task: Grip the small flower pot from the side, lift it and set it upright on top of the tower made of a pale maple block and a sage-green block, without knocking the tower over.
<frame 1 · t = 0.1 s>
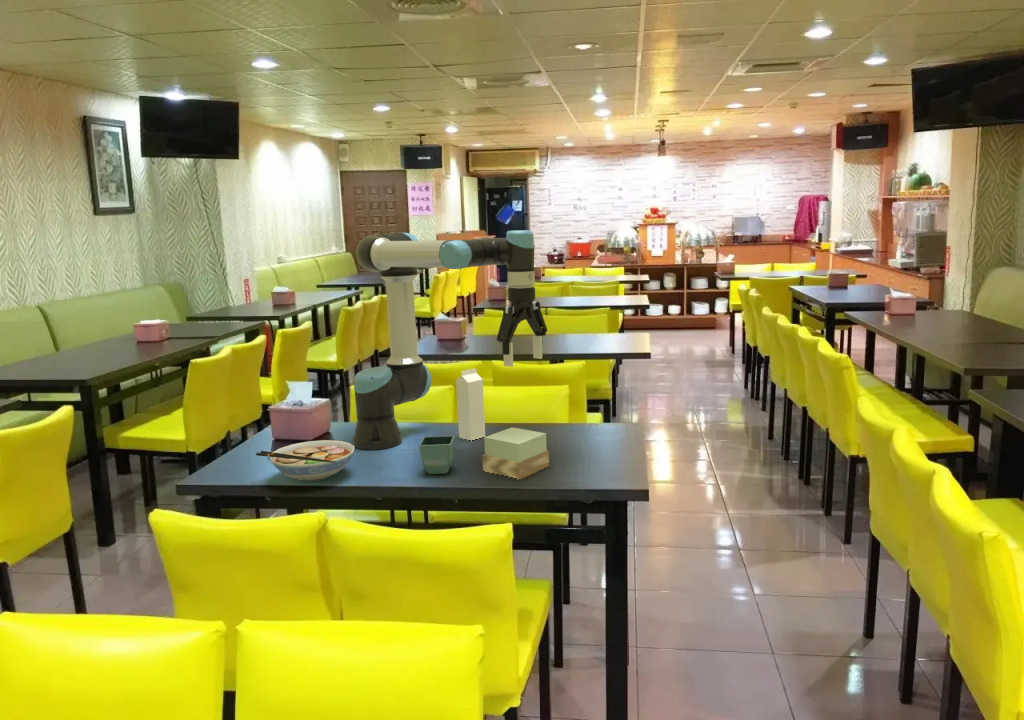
hand: (523, 362, 219), 28 cm above the table, tool pointing down, fingers open, 13 cm apart
maple block: (516, 470, 214), on the table, touching sage block
sage block: (515, 453, 213), point 5 cm above the table, touching maple block
flower pot: (438, 472, 214), on the table
ramen bowl: (314, 478, 213), on the table
milk: (472, 438, 246), on the table
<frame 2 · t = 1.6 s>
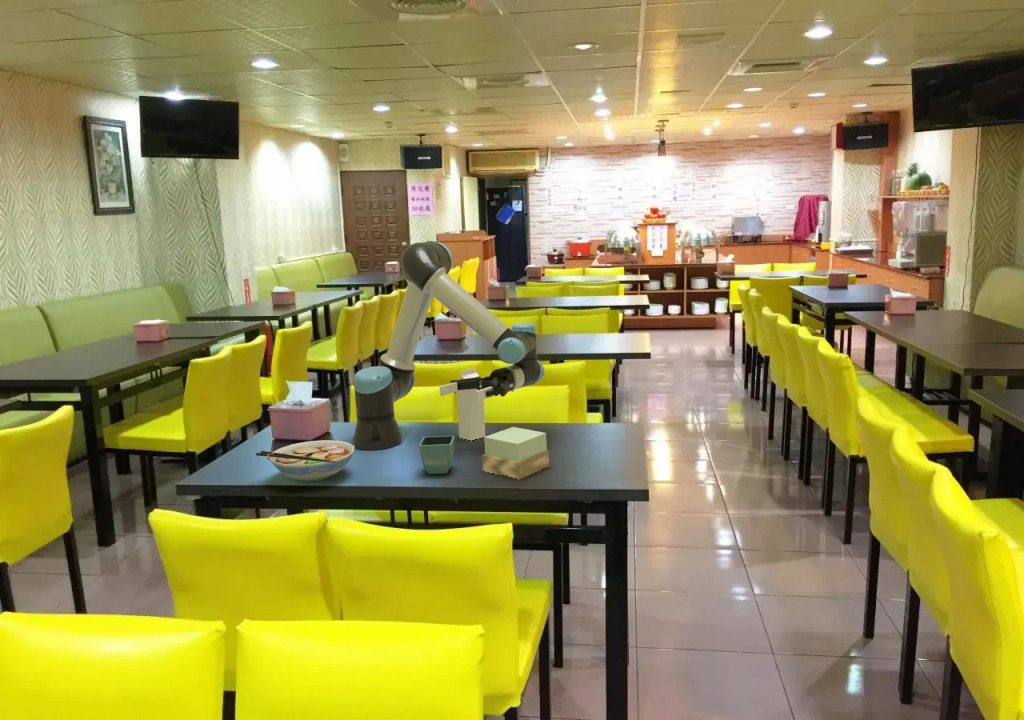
hand: (458, 393, 218), 20 cm above the table, tool horizontal, fingers open, 13 cm apart
nothing on the table moved.
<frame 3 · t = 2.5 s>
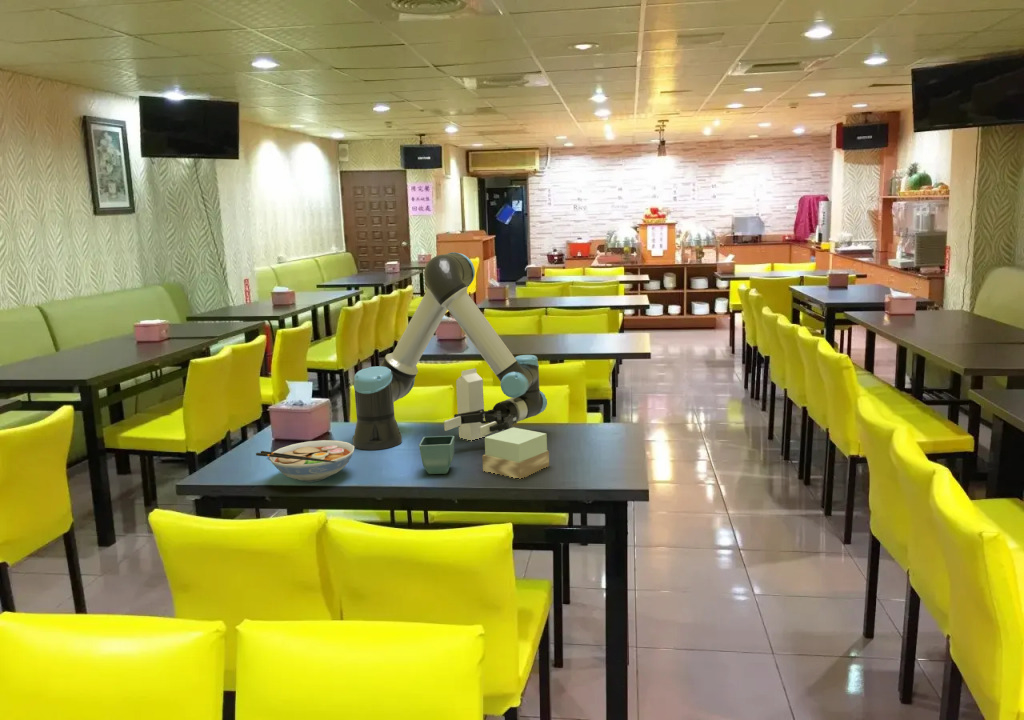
hand: (462, 428, 220), 10 cm above the table, tool horizontal, fingers open, 13 cm apart
nothing on the table moved.
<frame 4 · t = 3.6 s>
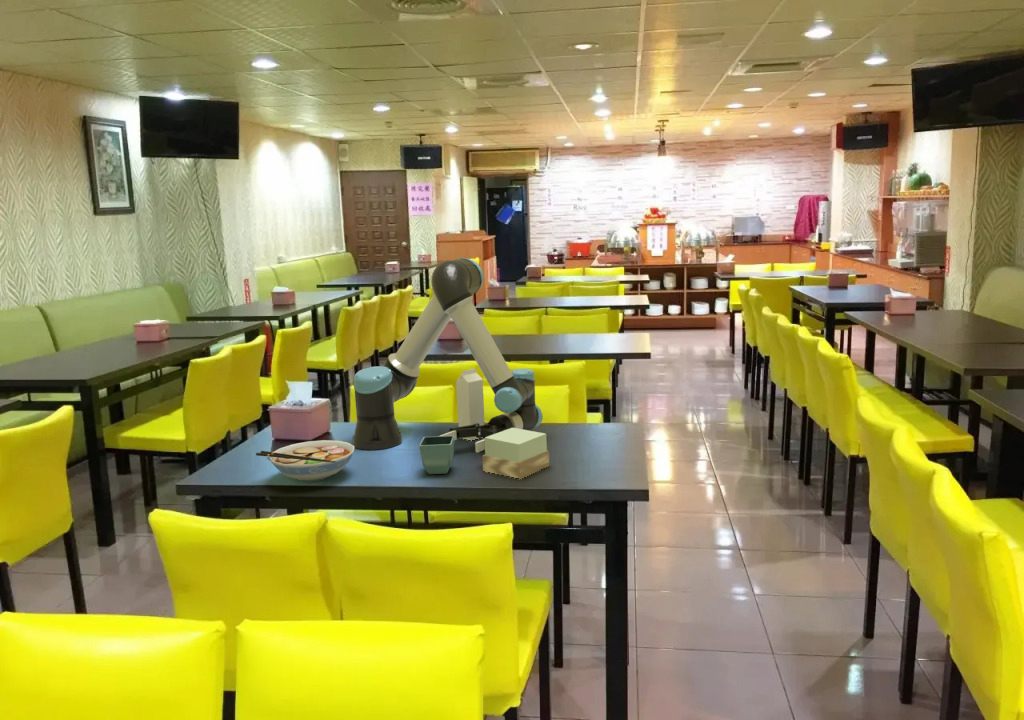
hand: (457, 443, 219), 6 cm above the table, tool horizontal, fingers open, 13 cm apart
nothing on the table moved.
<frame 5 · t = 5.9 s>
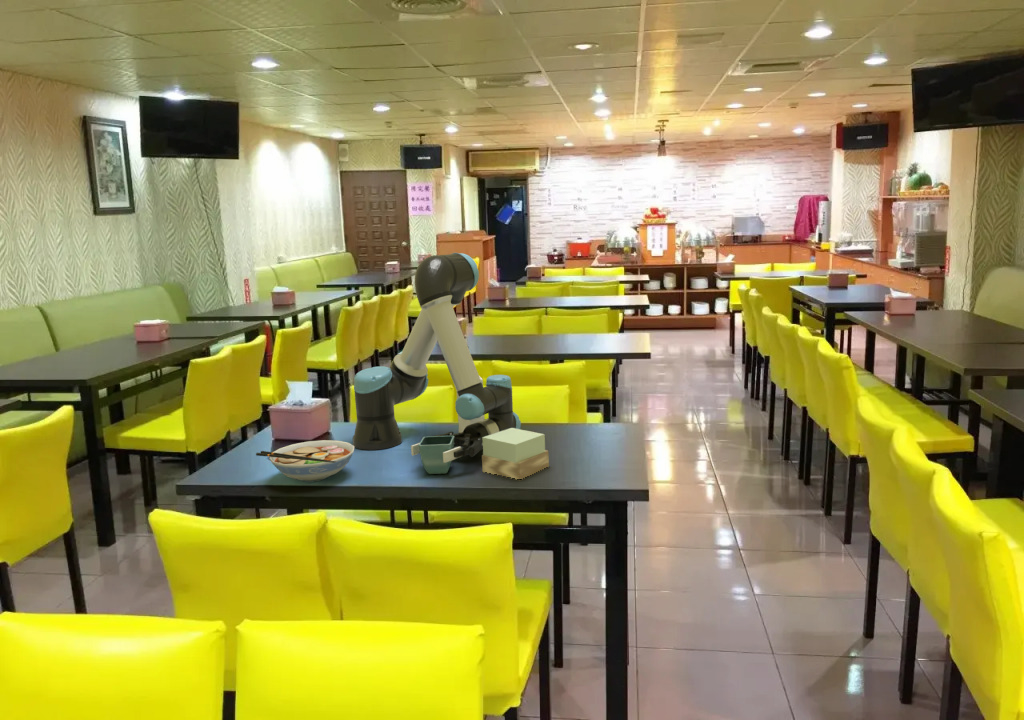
hand: (427, 454, 210), 6 cm above the table, tool horizontal, fingers closed on flower pot, 11 cm apart
maple block: (515, 470, 213), on the table
sage block: (514, 453, 212), point 5 cm above the table
flower pot: (438, 472, 214), on the table, touching gripper
everything else where it was.
when the fingers open (17 cm above the table, at t = 11.9 s): flower pot drops 1 cm, resting on sage block.
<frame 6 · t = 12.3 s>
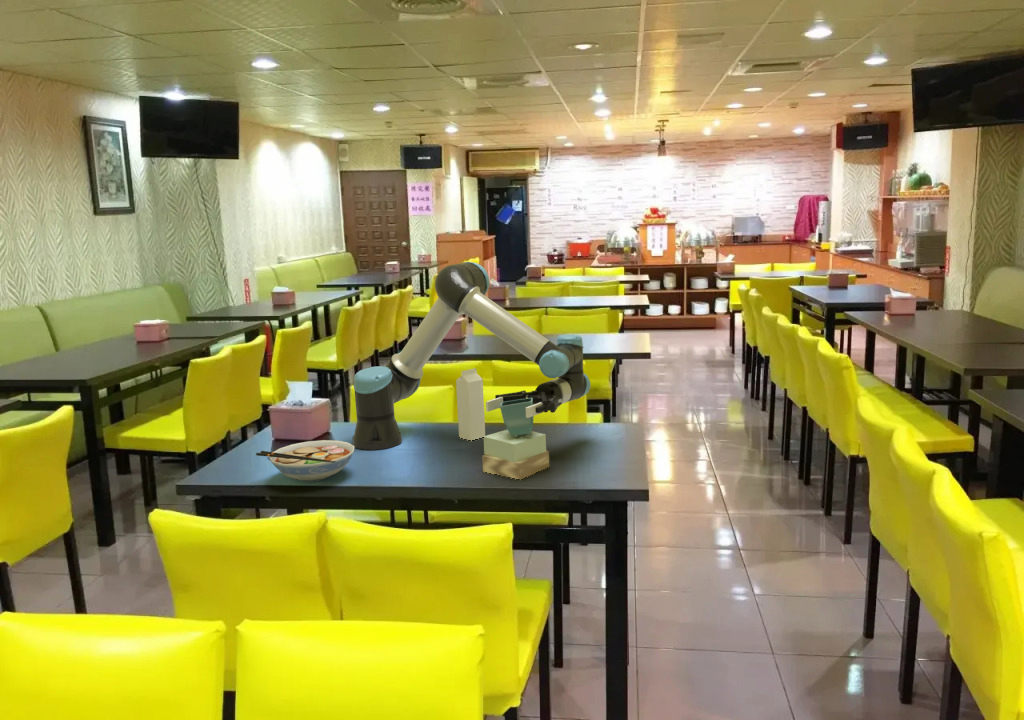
hand: (506, 409, 208), 18 cm above the table, tool horizontal, fingers open, 13 cm apart
maple block: (516, 470, 213), on the table, touching sage block
sage block: (515, 453, 213), point 5 cm above the table, touching flower pot, maple block
flower pot: (521, 434, 211), point 10 cm above the table, touching gripper, sage block
everything else where it was.
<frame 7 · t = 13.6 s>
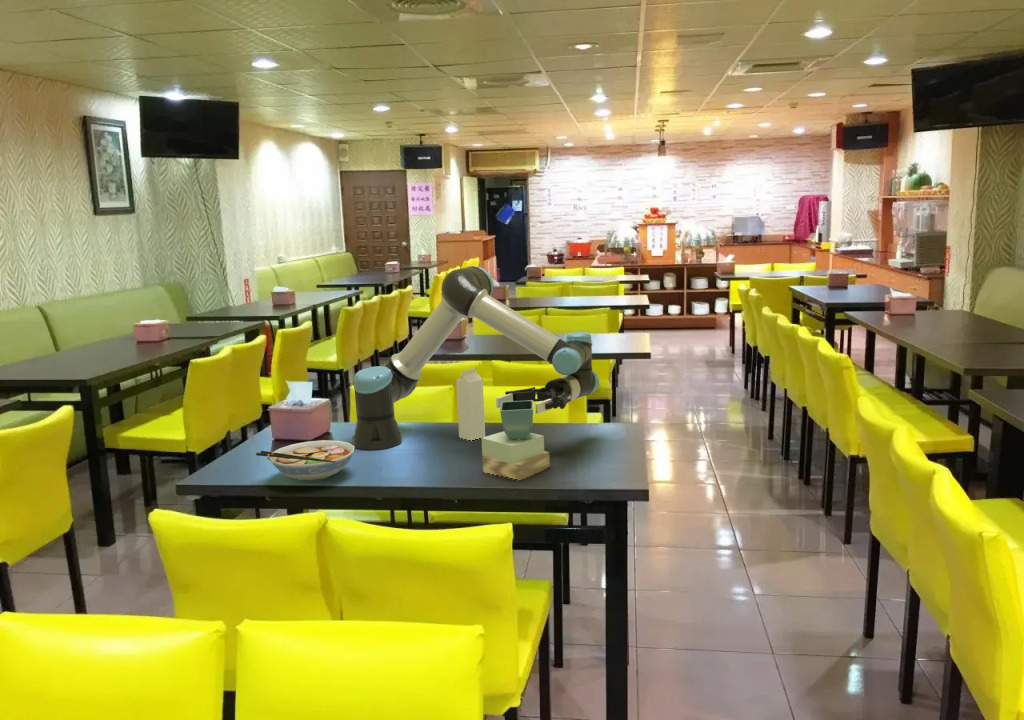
hand: (516, 405, 211), 18 cm above the table, tool horizontal, fingers open, 13 cm apart
flower pot: (518, 437, 211), point 9 cm above the table, touching sage block
everything else where it was.
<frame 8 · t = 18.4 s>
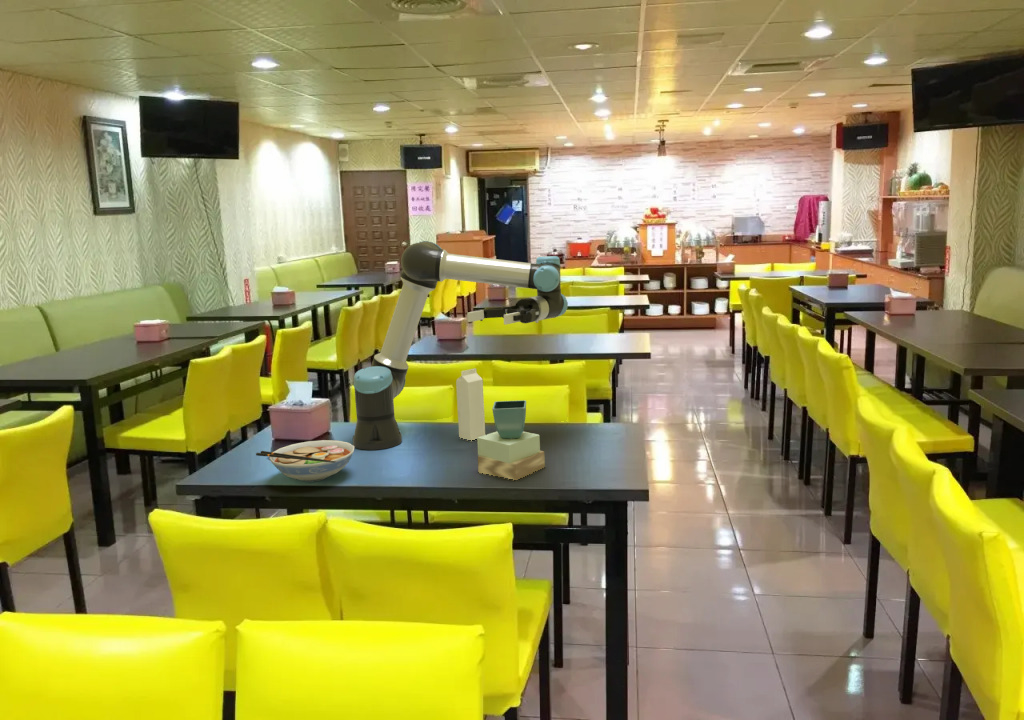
hand: (486, 318, 222), 40 cm above the table, tool horizontal, fingers open, 13 cm apart
maple block: (511, 471, 213), on the table, touching sage block
sage block: (509, 453, 212), point 5 cm above the table, touching flower pot, maple block
flower pot: (511, 437, 211), point 9 cm above the table, touching sage block
everything else where it was.
at the end: flower pot inside the target area on the sage block (0.8 cm from its centre), point 4.8 cm above the sage block's base; sage block 0.6 cm off-centre on the maple block, point 5.0 cm above the maple block's base; flower pot tilted 1° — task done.
